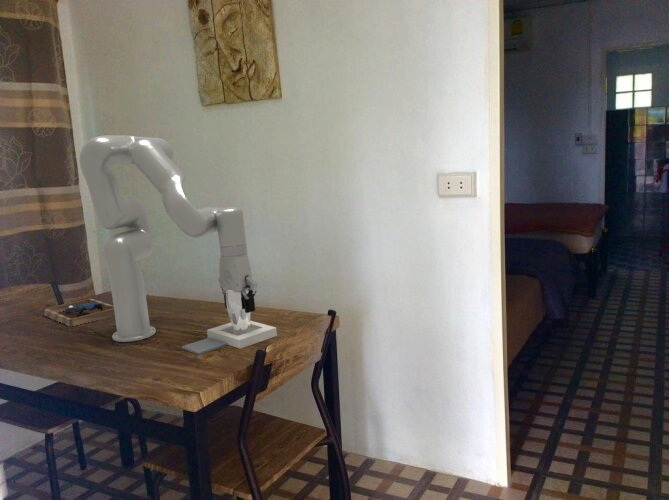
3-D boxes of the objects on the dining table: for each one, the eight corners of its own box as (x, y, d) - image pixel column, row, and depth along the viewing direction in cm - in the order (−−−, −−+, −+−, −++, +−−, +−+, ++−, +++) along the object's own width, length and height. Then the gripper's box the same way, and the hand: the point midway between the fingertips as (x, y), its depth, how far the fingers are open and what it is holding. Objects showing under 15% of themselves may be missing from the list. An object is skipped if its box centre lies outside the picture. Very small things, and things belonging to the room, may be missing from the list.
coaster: (181, 348, 170) (181, 346, 170) (209, 339, 176) (209, 337, 176) (199, 354, 163) (198, 352, 163) (227, 345, 169) (226, 343, 169)
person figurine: (58, 322, 214) (89, 319, 204) (55, 309, 213) (86, 306, 204) (85, 313, 223) (116, 310, 213) (82, 301, 223) (113, 298, 213)
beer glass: (249, 341, 172) (244, 289, 169) (226, 341, 173) (221, 290, 171) (257, 333, 179) (252, 283, 176) (235, 333, 180) (230, 284, 177)
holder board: (207, 338, 177) (206, 329, 177) (244, 326, 186) (243, 318, 186) (240, 348, 166) (239, 340, 165) (276, 335, 175) (276, 327, 174)
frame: (44, 315, 216) (43, 309, 215) (91, 304, 227) (90, 298, 227) (70, 327, 199) (69, 320, 198) (120, 314, 210) (119, 307, 210)
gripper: (205, 251, 175) (212, 308, 178) (240, 255, 163) (247, 317, 166) (227, 246, 180) (233, 302, 183) (262, 250, 168) (269, 310, 171)
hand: (240, 309), depth 174 cm, fingers open, 9 cm apart
